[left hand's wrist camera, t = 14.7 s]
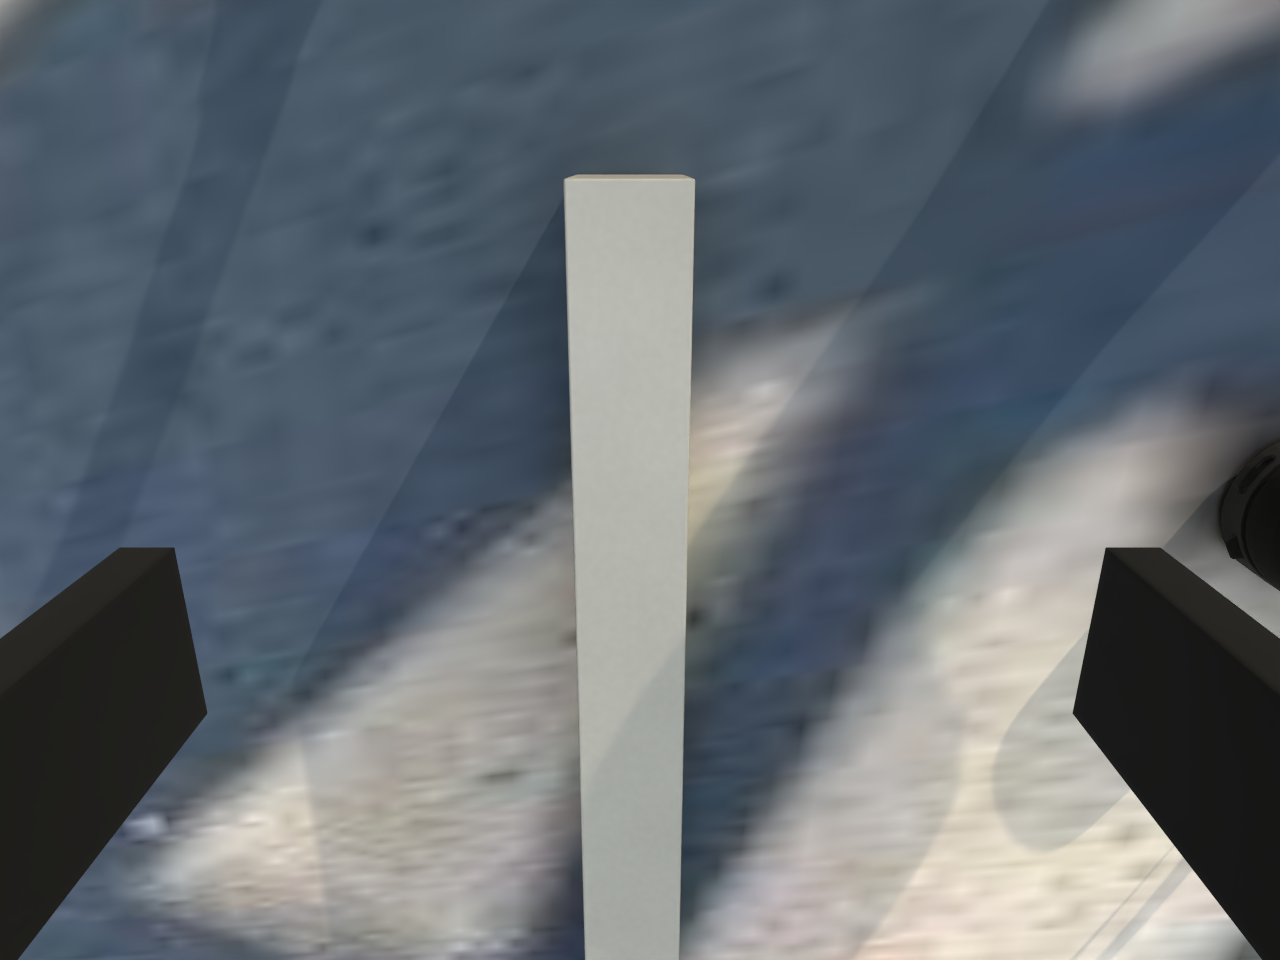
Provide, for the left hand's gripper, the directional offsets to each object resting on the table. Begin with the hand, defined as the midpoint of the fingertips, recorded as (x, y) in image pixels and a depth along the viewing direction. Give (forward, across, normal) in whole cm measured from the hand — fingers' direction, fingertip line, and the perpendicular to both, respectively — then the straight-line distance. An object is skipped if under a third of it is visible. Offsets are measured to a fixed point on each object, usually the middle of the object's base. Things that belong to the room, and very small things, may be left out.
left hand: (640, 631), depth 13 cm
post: (+31, 0, -21) cm, 38 cm away
